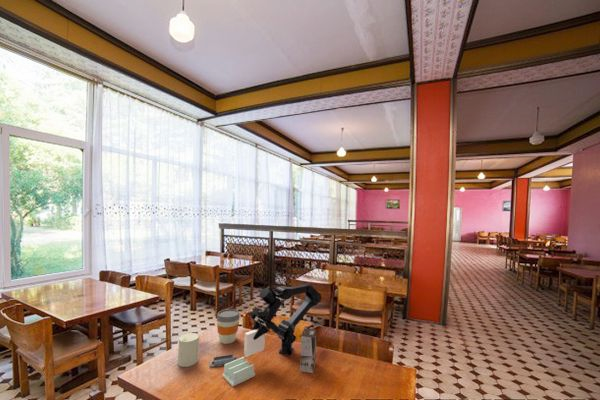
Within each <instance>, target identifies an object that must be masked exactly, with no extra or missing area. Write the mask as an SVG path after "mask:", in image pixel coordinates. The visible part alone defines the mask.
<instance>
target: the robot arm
mask: <svg viewBox="0 0 600 400" xmlns="http://www.w3.org/2000/svg"><path fill="white" fill-rule="evenodd" d="M301 294H304V295H305V297H304V301H303V303H302V304H301V305H300V306H299V307H298V308H297V309H296V311H295V312H294V313H293V314H292V316H290V318H289V319H288V320H286V319H283V320H281V322H280V323H279V324H278V325H277V324H276V323H275V322H273V318H276V317H277V313H278V311H279V309H280V308H281V307H283V308H284V307H285V301H287V300H290V299H291V298H292V297H293V296H296V295H301ZM258 296H259V298H260V299H261V300H262V301H263V302H264V303H265V304H266V305H267V306H264V307H263V308H261V307H257V306H254V308H253V311H250V312H249V314H248V316H249V317H250V318H251V319H252V321H253V325H252V330H255V329H258V328H259V329H258V331H257V333H256V334H255V336H254V338H253V339H254V340H256V339H257V338H259V337H260V336H262V335H263V334H265V335H266V333H270V332H271V330H272V332H273V333H274V334H276V335H277V337H278V339H280V340H281V341H280V343H281V346H280V350H279V352H278V353H279V354H281V355H287V356H291V355H292V354H293V352H294V350H295V348H294V347H293V343H294V342H296V340H297V336H296V335H295V330H296V326H297V325H298V324H299V323H300V321H301V320H302V319H303V318H304V316H306V314H307V313H308V312H309V311H310V309H311V308H312V307H313V308H314V307H315V306H317V305H318V304H319V303H321V302H322V301H321V300H322V295H321V293H320V292H318V290H316V288H314V286H312V284H308V283H303V284H299V285H294V286H285V285H283V286H282V285H279V286H277V287H276V288H274V289H273V288H272V287H271V286H266V287H265V288H263V289H262V290H260V292H259V295H258Z"/></svg>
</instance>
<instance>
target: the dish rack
mask: <svg viewBox="0 0 600 400" xmlns="http://www.w3.org/2000/svg"><path fill="white" fill-rule="evenodd" d="M245 357H246V356H242V357H239V358H237V360H235V359H234V361H232V362H229V363H227V364H224V365H223V373H222V378H223V379H225V380H226V381H227V382H228V384H230V385H231V387H235V386H237V385H239V384H241V383H243V382H245V381H247V380H249V379H251V378H253V377H255V376H256V373H255V364H254V363H252V364H251V365H250V360H246V359H245ZM245 360H246V361H245Z"/></svg>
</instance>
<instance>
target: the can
mask: <svg viewBox="0 0 600 400" xmlns="http://www.w3.org/2000/svg"><path fill="white" fill-rule="evenodd" d="M199 339H200V334H198V333H197V332H196V333H195V332H189V333H184V334H182V335H180V336H179V337H178V352H177V354H178V355H177V362H176V363H177V364H176V365H178V367H182V368H187V367H192V366H194V365H195V364H196V363H198V362H199V341H200V340H199Z"/></svg>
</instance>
